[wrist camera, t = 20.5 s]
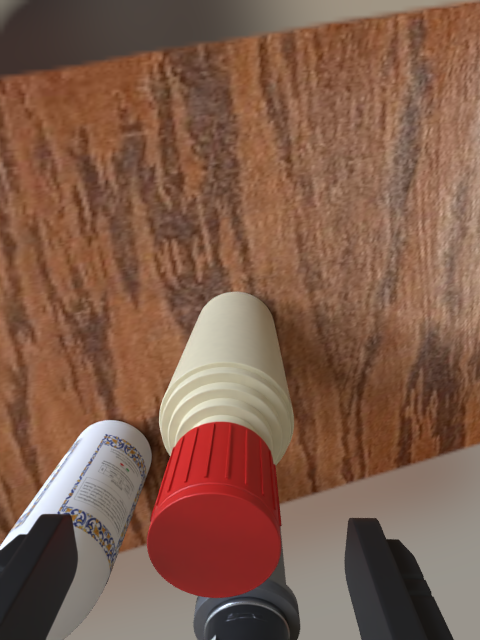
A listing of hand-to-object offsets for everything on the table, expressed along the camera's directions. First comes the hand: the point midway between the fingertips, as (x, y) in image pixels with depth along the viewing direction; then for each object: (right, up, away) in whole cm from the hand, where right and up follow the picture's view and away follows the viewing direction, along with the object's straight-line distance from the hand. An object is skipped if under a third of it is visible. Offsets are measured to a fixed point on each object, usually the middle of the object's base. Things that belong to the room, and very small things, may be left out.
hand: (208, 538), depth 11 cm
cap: (0, 0, +4) cm, 4 cm away
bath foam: (-11, -6, +24) cm, 27 cm away
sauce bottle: (+1, +6, +20) cm, 21 cm away
